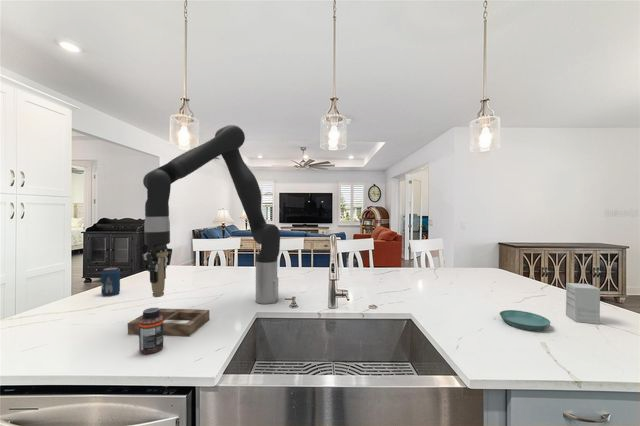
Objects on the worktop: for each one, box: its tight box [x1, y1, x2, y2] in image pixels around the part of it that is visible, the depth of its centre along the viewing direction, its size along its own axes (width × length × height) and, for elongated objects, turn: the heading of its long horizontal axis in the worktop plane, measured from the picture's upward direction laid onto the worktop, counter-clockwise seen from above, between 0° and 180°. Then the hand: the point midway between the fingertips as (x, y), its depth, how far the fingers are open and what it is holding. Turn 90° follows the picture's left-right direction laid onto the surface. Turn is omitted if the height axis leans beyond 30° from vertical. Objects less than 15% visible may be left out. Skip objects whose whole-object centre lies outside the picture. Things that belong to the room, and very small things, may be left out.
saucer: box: [498, 309, 551, 331], centre depth 104 cm, size 15×15×3 cm
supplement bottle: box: [138, 307, 164, 355], centre depth 83 cm, size 6×6×11 cm
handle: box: [150, 251, 168, 298], centre depth 100 cm, size 5×6×15 cm
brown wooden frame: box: [127, 307, 210, 337], centre depth 99 cm, size 20×14×4 cm
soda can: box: [100, 266, 121, 297], centre depth 135 cm, size 7×7×12 cm
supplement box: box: [565, 282, 601, 325], centre depth 108 cm, size 7×7×13 cm
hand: (158, 280), depth 100 cm, fingers closed on handle, 4 cm apart
